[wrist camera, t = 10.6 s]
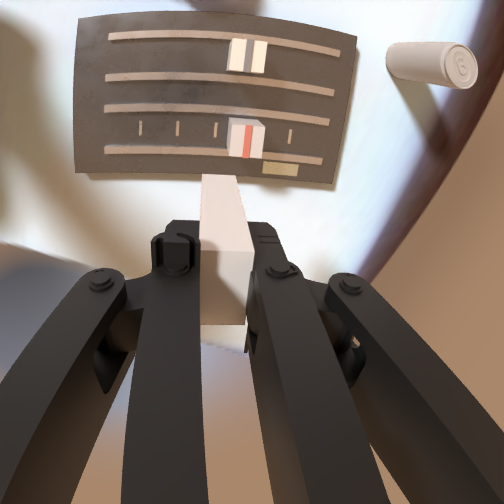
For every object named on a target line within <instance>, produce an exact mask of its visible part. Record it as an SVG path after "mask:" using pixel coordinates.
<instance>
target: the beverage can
mask: <svg viewBox="0 0 504 504" xmlns="http://www.w3.org/2000/svg"><path fill="white" fill-rule="evenodd" d="M386 64H387V68H388V69H389V71H390V72H391V73H392V75H394V76H395V77H397V78H399V79H404V80H411V81H417V82H424V83H429V84H435V85H440V86H445V87H450V88H455V89H467V88H470V87H471V86H473V84H474V83H475V81H476V79H477V75H478V66H477V61H476V59H475V56H474V55H473V53H472V52H471V50H470V49H469V48H468V47H466V46H464V45H462V44H459V43H454V42H404V43H394V44H393V45H391V46H390V47H389V48H388V50H387V53H386Z"/></svg>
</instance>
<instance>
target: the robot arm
mask: <svg viewBox="0 0 504 504" xmlns="http://www.w3.org/2000/svg"><path fill="white" fill-rule="evenodd" d="M280 243H281V242H280V240H279V238H278V235H277V232H276V230H275V229H274V228H273V227H272V226H271V225H270V224H268V223H267V222H247V219H246V215H245V211H244V207H243V203H242V200H241V196H240V192H239V188H238V184H237V180H236V176H234V175H214V174H202V186H201V205H200V221H193V220H173V221H171V222H170V223H169V224H168V225H167V226H166V229H165V232H163V233H160V234H158V235H157V236H155V237H154V238H153V239H152V241H151V257H152V272H151V273H149V274H148V275H146V276H143V277H140V278H136V279H131V280H125V279H124V275H122V274H121V273H120V272H119V271H117V270H114V269H109V268H100V269H95V270H93V271H90V272H88V273H86V274H85V275H84V276H82V277H81V278H80V279H79V281H78V282H77V283H76V284H75V285H74V286H73V288H72V289H71V290H70V291H69V292H68V294H67V295H66V296H65V297H64V299H63V300H62V301H61V302H60V303H59V305H58V306H57V307H56V308H55V310H54V311H53V312H52V313H51V315H50V316H49V317H48V318H47V320H46V321H45V322H44V324H43V325H42V326H41V328H40V329H39V330H38V331H37V333H36V334H35V335H34V337H33V338H32V339H31V341H30V342H29V343H28V345H27V346H26V347H25V349H24V350H23V352H22V353H21V354H20V356H19V357H18V359H17V360H16V361H15V363H14V364H13V366H12V367H11V369H10V370H9V371H8V373H7V374H6V376H5V377H4V379H3V380H2V382H1V383H0V504H71V501H72V499H73V496H74V493H75V491H76V488H77V486H78V483H79V480H80V478H81V476H82V473H83V471H84V468H85V466H86V463H87V461H88V459H89V456H90V454H91V451H92V449H93V447H94V444H95V442H96V440H97V437H98V435H99V433H100V430H101V428H102V426H103V423H104V421H105V419H106V417H107V414H108V412H109V410H110V408H111V406H112V403H113V401H114V399H115V397H116V395H117V392H118V390H119V388H120V386H121V384H122V381H123V380H124V378H125V375H126V373H127V371H128V369H129V367H130V365H131V363H132V361H133V359H134V356H135V354H136V356H135V362H134V369H133V376H132V383H131V390H130V398H129V406H128V414H127V424H126V433H125V444H124V456H123V470H122V487H121V504H209V500H208V488H207V476H206V463H205V447H204V430H203V411H202V410H203V409H202V384H201V347H200V325H245V319H246V315H247V321H248V328H247V334H246V341H245V348H244V353H247V352H248V351H249V358H250V364H251V370H252V376H253V383H254V389H255V395H256V402H257V408H258V414H259V420H260V426H261V432H262V437H263V444H264V450H265V455H266V461H267V467H268V473H269V479H270V484H271V490H272V495H273V501H274V504H391V503H390V501H389V499H388V496H387V493H386V489H385V487H384V484H383V481H382V478H381V475H380V472H379V469H378V466H377V464H376V461H375V458H374V455H373V452H372V449H371V447H370V444H371V446H372V447H373V449H374V450H375V452H376V453H377V455H378V456H379V458H380V459H381V461H382V462H383V464H384V465H385V467H386V468H387V469H388V471H389V472H390V474H391V476H392V477H393V479H394V480H395V482H396V483H397V485H398V486H399V487H400V489H401V491H402V492H403V494H404V495H405V497H406V498H407V500H408V501H409V503H410V504H504V432H503V431H502V430H501V429H500V427H499V426H498V425H497V424H496V423H495V421H494V420H493V419H492V418H491V417H490V415H489V414H488V413H487V412H486V410H485V409H484V408H483V407H482V405H481V404H480V403H479V402H478V401H477V400H476V398H475V397H474V396H473V395H472V394H471V392H470V391H469V390H468V389H467V388H466V387H465V386H464V384H463V383H462V382H461V381H460V380H459V379H458V378H457V376H456V375H455V374H454V373H453V372H452V371H451V370H450V369H449V368H448V366H447V365H446V364H445V363H444V362H443V361H442V360H441V359H440V357H439V356H438V355H437V354H436V353H435V352H434V351H433V350H432V349H431V347H430V346H429V345H428V344H427V343H426V342H425V341H424V340H423V339H422V338H421V337H420V336H419V335H418V333H417V332H416V331H415V330H414V329H413V328H412V327H411V326H410V325H409V324H408V323H407V322H406V321H405V320H404V319H403V318H402V317H401V316H400V315H399V313H397V311H396V310H395V309H394V308H392V306H391V305H390V304H389V303H388V302H387V301H386V300H385V299H384V298H383V297H382V296H381V295H380V294H379V293H378V292H377V291H376V290H375V289H374V288H373V287H372V286H371V285H370V284H369V283H368V282H367V281H366V280H364V279H363V278H361V277H359V276H357V275H355V274H350V273H337V274H334V275H332V276H331V278H330V279H329V282H328V284H324V283H319V282H315V281H311V280H307V279H305V278H304V277H303V274H302V272H301V270H300V269H299V268H298V266H296V265H295V264H293V263H291V262H289V261H288V260H287V257H286V255H285V252H284V250H283V247H282V245H281V244H280ZM354 336H355V338H356V339H357V340H358V341H359V342H360V346H359V347H358V346H357V345H356V344H355V343H354V342H353V339H354ZM369 443H370V444H369Z"/></svg>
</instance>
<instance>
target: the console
mask: <svg viewBox="0 0 504 504" xmlns="http://www.w3.org/2000/svg"><path fill="white" fill-rule="evenodd" d="M233 38H237V39H253V40H256V41H264V42H267V50H266V58H265V66H264V73H247V72H236V71H226V70H227V61H228V53H229V45H230V42H231V40H232V39H233ZM356 44H357V36H354V35H350V34H346V33H343V32H339V31H335V30H331V29H327V28H322V27H318V26H313V25H308V24H304V23H298V22H293V21H287V20H282V19H275V18H269V17H261V16H253V15H244V14H234V13H222V12H204V11H149V12H132V13H120V14H110V15H101V16H94V17H87V18H80V19H78V28H77V37H76V48H75V62H74V81H73V139H74V159H75V173H90V172H162V173H196V174H218V175H236V176H251V177H265V178H278V179H289V180H300V181H310V182H320V183H329V184H332V182H333V177H334V172H335V167H336V162H337V157H338V152H339V147H340V142H341V136H342V131H343V125H344V120H345V114H346V108H347V103H348V97H349V91H350V84H351V78H352V71H353V65H354V58H355V51H356ZM229 117H232V118H245V119H256V120H259V121H260V122H261V123H262V124H263V125H264V126H265V134H264V142H263V150H262V157H261V158H250V157H249V158H242V157H236V156H229V154H228V149H227V145H226V144H227V133H228V123H229Z"/></svg>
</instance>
